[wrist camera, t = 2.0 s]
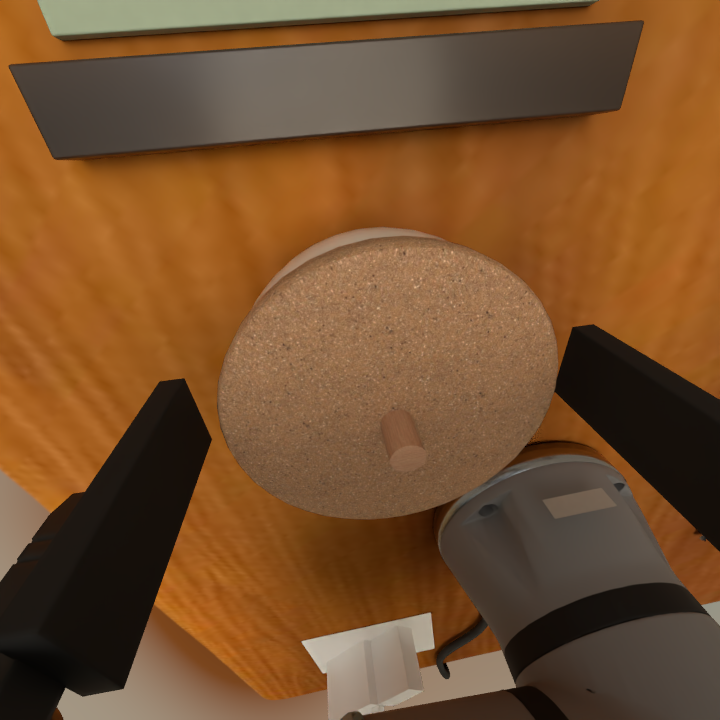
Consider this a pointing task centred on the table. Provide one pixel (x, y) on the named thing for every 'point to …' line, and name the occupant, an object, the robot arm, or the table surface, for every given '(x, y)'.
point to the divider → (325, 89)
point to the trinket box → (386, 375)
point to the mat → (249, 13)
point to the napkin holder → (372, 664)
